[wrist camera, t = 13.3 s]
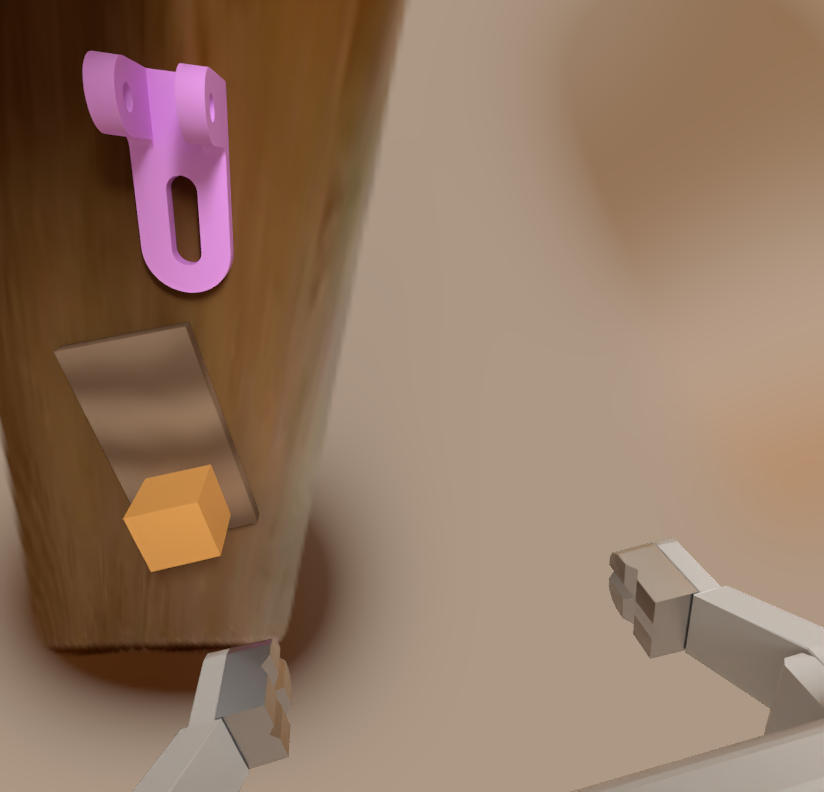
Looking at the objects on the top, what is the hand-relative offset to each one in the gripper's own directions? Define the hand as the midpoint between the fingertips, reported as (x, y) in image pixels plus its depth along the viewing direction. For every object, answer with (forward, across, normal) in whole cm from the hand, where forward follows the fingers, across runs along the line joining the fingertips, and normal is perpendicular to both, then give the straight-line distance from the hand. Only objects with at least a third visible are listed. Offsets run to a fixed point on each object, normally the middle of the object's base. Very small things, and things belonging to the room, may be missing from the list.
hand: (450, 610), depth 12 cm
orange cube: (+28, +17, +13) cm, 35 cm away
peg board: (+29, +17, +8) cm, 35 cm away
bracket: (+30, +10, -10) cm, 33 cm away
